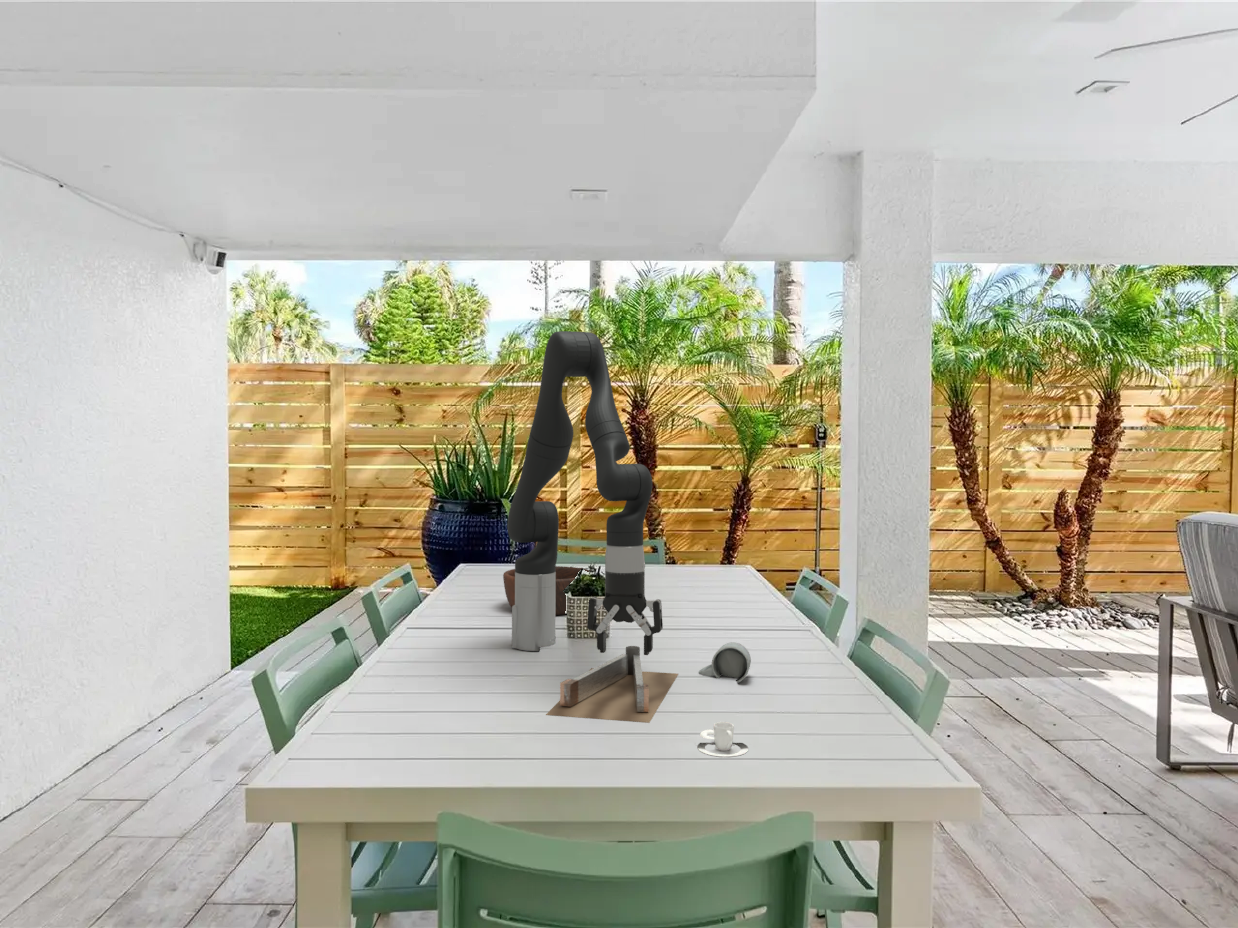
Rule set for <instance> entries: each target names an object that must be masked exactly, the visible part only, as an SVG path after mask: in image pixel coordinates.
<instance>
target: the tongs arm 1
mask: <svg viewBox="0 0 1238 928" xmlns="http://www.w3.org/2000/svg"><path fill="white" fill-rule="evenodd" d="M589 670H590V669H589ZM589 670H588V671H586V672H584V673H582V674H579V675H578V676H576V677H575V678H567V679H566V680H564V681H561V682H560V683H559V685H560V686H559V690H560V691H559V693H560V694H559V696H560V697H559V701H560V706H567V707H571V706H573V705H575V704H576V703H578V702H580V701H582V700H584V699H585V698H587V697H589V696H591V695H593V694H594V693H596V692H598V691H600V690H601V689H603V688H605V687H607V686H609V685H610V684H612V683H614V682H616V681H618V680H619V679H621V678H623V677H625V676H627V675H628V655H627V654H626V653H621V654H620V655H618V656H616V657H614V658H612V659H610V660H608V661H605V662H604V663H602V664H599V665H598V666H596V667H594V669H592V670H590V671H589Z"/></svg>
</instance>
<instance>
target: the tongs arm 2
mask: <svg viewBox="0 0 1238 928" xmlns="http://www.w3.org/2000/svg"><path fill="white" fill-rule="evenodd" d="M640 655H641V654H640ZM640 655H634V656H633V676H634V687H635V697H636V707H637V712H649V687H648V684H643V677H642V671H643V670H642V662H641V657H640Z"/></svg>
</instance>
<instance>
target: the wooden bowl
mask: <svg viewBox="0 0 1238 928" xmlns="http://www.w3.org/2000/svg"><path fill="white" fill-rule="evenodd" d="M581 569H584V570H585V571H587V572H589V570H590V569H587V568H581V567H573V566H561V565H559V566H557V565H556V571H555V572H556V584H555V585H556V609H555V616H562V615H563V616H565V611H566V595H565V593H564V592H563V590H564V589H565V588H566V587H567V586H568V585H569V584H570V583H571V582H572V581H573V580H574V579H575V577H576V576H577V574H578V572H579V571H580V570H581ZM502 578H503V585H504V592H505V596H506V600H507V602H508V604H509V606H510V608H511V609H512V606H514V605H515V568H512V569H509V570H506V571H505V572H503V575H502Z"/></svg>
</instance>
